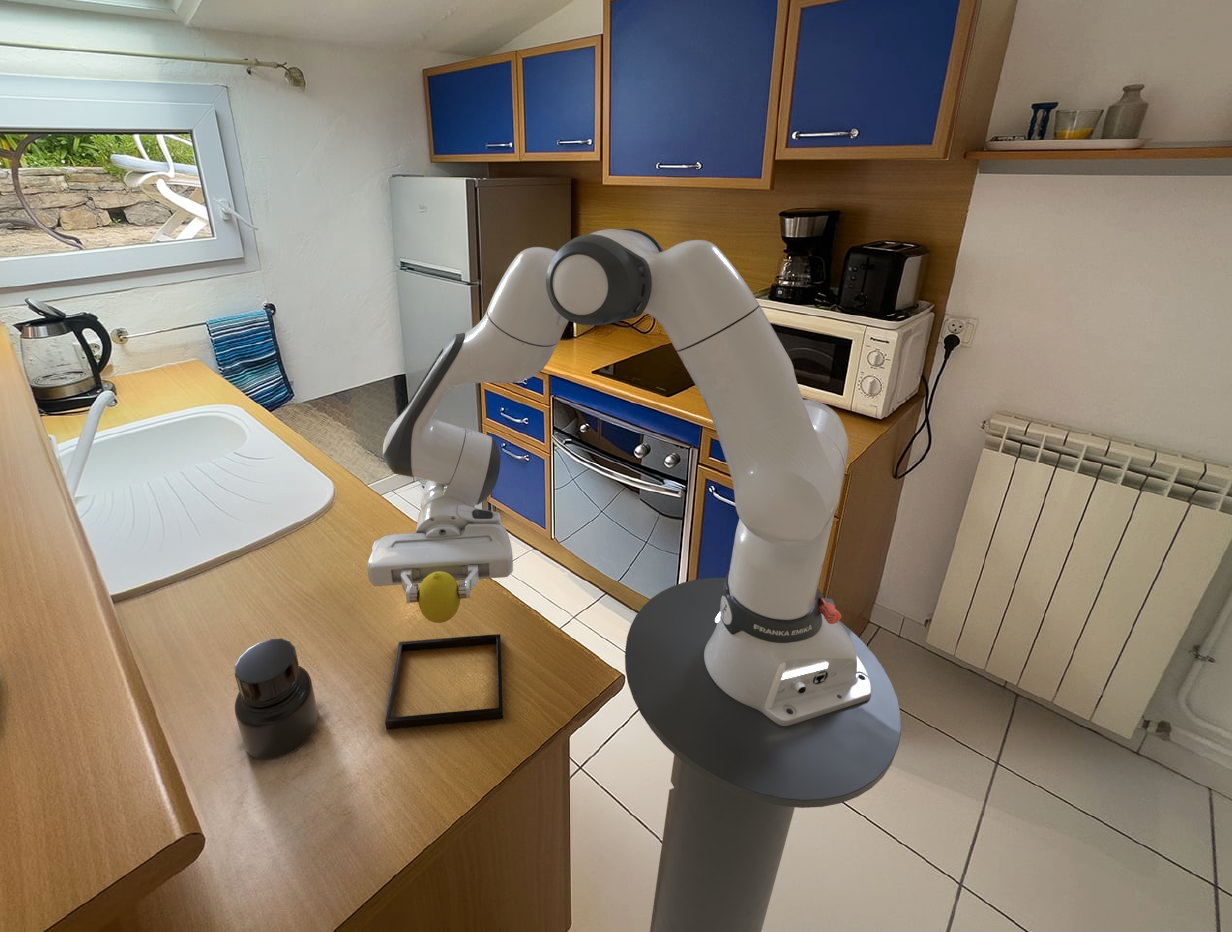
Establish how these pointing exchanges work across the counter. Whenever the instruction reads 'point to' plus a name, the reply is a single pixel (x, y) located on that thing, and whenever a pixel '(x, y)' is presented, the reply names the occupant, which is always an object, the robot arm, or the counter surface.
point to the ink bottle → (273, 700)
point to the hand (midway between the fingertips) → (438, 596)
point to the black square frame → (447, 716)
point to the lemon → (439, 597)
